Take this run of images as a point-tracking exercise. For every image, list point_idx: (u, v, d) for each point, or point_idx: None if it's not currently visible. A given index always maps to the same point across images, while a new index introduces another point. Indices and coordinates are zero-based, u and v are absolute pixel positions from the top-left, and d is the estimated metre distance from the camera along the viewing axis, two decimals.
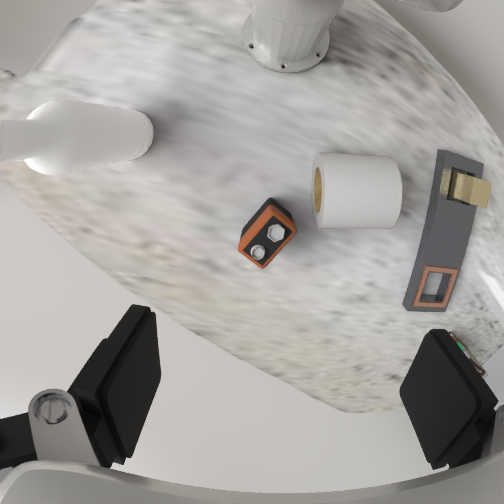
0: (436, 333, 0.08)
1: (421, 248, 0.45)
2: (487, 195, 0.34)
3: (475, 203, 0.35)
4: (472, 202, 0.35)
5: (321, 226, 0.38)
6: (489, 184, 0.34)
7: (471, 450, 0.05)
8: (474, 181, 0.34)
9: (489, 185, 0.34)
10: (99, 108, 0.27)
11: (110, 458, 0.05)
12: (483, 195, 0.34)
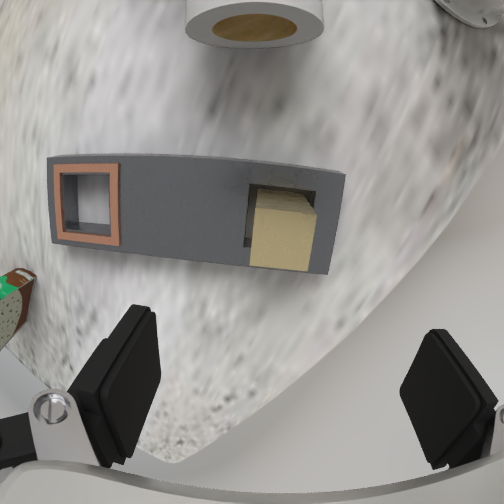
0: (436, 333, 0.08)
1: (150, 154, 0.25)
2: (278, 263, 0.21)
3: (256, 227, 0.20)
4: (258, 217, 0.19)
5: None
6: (303, 266, 0.21)
7: (471, 450, 0.05)
8: (306, 217, 0.19)
9: (301, 266, 0.21)
10: None
11: (110, 458, 0.05)
12: (276, 250, 0.20)
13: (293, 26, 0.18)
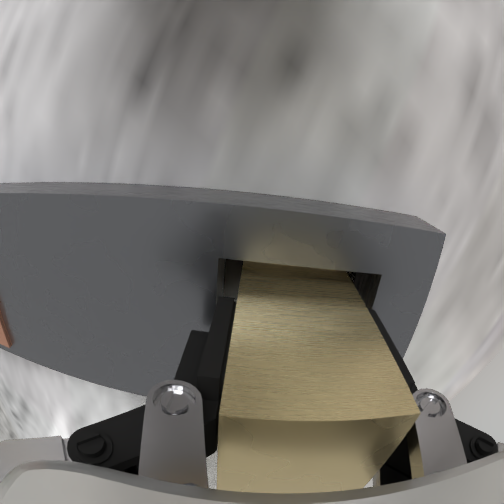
0: None
1: (30, 186, 0.10)
2: None
3: (229, 452, 0.05)
4: (231, 435, 0.05)
5: None
6: None
7: None
8: (388, 424, 0.05)
9: None
10: None
11: (215, 443, 0.07)
12: (288, 481, 0.06)
13: None
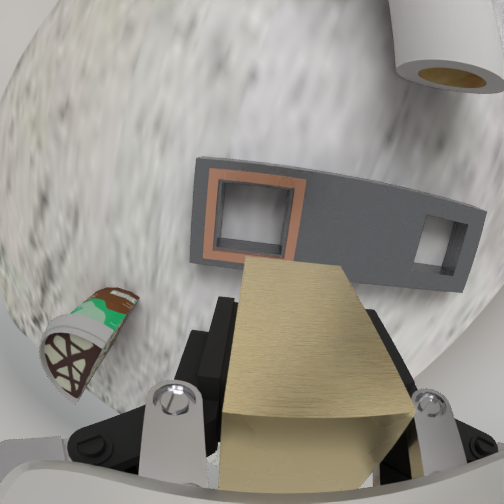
0: None
1: (332, 173, 0.24)
2: (290, 491, 0.06)
3: (231, 448, 0.05)
4: (234, 432, 0.05)
5: None
6: (349, 488, 0.06)
7: None
8: (385, 422, 0.05)
9: (344, 489, 0.06)
10: None
11: (215, 443, 0.07)
12: (288, 478, 0.06)
13: (471, 81, 0.18)
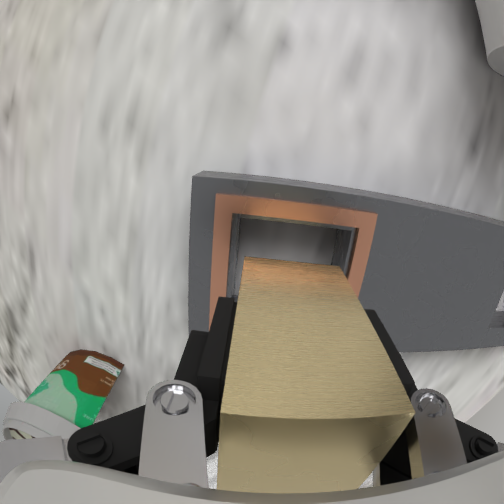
0: None
1: (406, 200, 0.15)
2: (288, 492, 0.06)
3: (229, 449, 0.05)
4: (232, 432, 0.05)
5: None
6: (348, 489, 0.06)
7: None
8: (384, 423, 0.05)
9: (343, 490, 0.06)
10: None
11: (215, 443, 0.07)
12: (286, 479, 0.06)
13: None
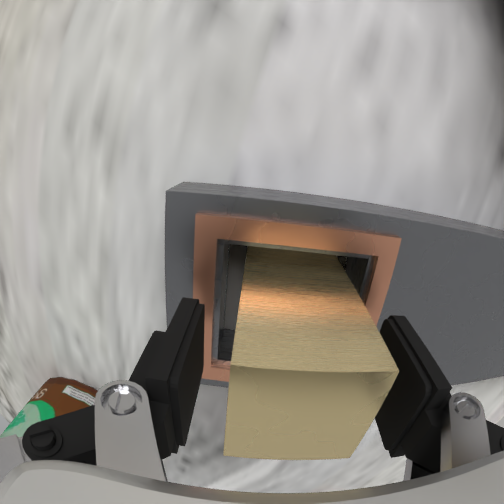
0: (394, 319, 0.09)
1: (431, 217, 0.12)
2: (289, 454, 0.07)
3: (237, 404, 0.07)
4: (240, 385, 0.06)
5: None
6: (343, 453, 0.07)
7: (424, 437, 0.06)
8: (371, 379, 0.06)
9: (339, 454, 0.07)
10: None
11: (170, 446, 0.06)
12: (286, 438, 0.07)
13: None
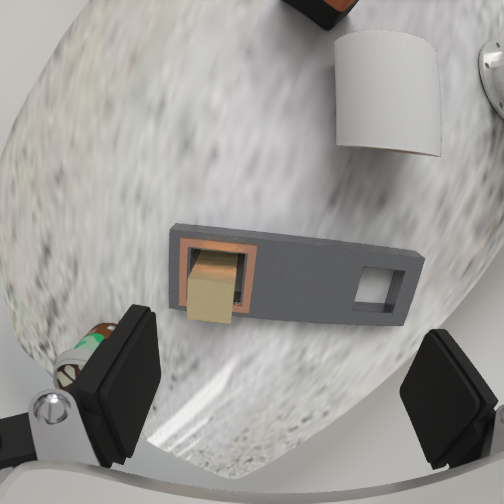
0: (436, 333, 0.08)
1: (280, 236, 0.31)
2: (208, 318, 0.26)
3: (189, 292, 0.26)
4: (190, 285, 0.25)
5: (351, 34, 0.19)
6: (227, 320, 0.27)
7: (471, 450, 0.05)
8: (226, 286, 0.25)
9: (225, 320, 0.27)
10: None
11: (110, 458, 0.05)
12: (206, 308, 0.26)
13: None
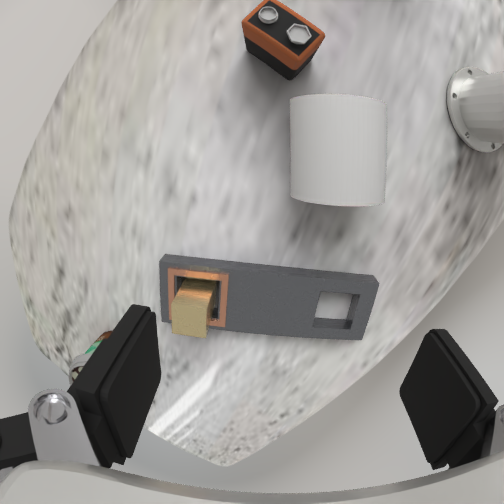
0: (436, 333, 0.08)
1: (249, 266, 0.38)
2: (188, 333, 0.34)
3: (173, 314, 0.33)
4: (173, 309, 0.32)
5: (300, 98, 0.25)
6: (203, 335, 0.34)
7: (471, 450, 0.05)
8: (200, 310, 0.32)
9: (201, 335, 0.34)
10: None
11: (110, 458, 0.05)
12: (186, 326, 0.33)
13: None
